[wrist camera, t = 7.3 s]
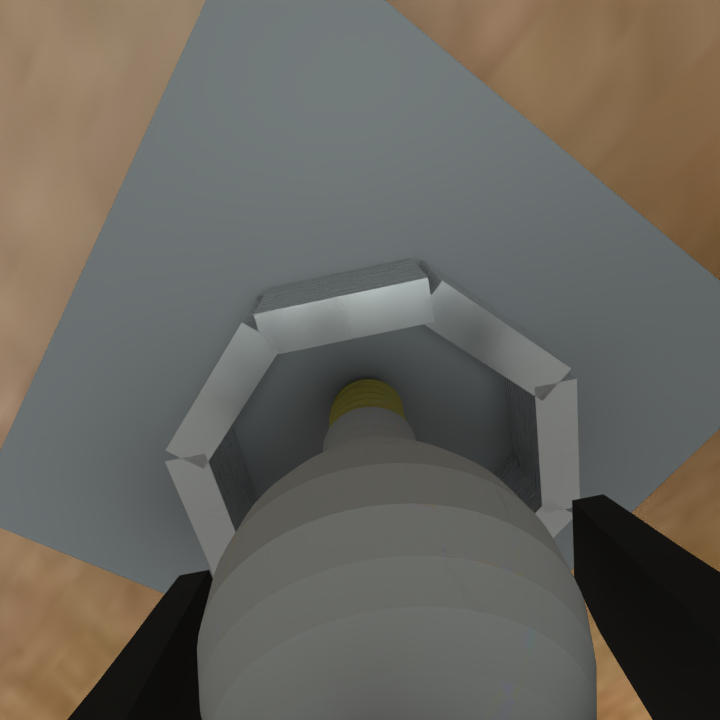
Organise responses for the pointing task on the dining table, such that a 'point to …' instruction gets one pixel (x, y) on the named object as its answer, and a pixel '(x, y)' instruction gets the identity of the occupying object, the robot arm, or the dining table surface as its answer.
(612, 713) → the dining table surface
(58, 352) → the holder
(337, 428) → the light bulb
